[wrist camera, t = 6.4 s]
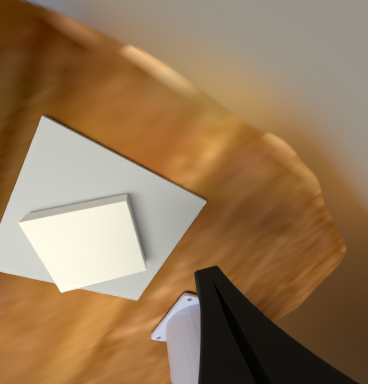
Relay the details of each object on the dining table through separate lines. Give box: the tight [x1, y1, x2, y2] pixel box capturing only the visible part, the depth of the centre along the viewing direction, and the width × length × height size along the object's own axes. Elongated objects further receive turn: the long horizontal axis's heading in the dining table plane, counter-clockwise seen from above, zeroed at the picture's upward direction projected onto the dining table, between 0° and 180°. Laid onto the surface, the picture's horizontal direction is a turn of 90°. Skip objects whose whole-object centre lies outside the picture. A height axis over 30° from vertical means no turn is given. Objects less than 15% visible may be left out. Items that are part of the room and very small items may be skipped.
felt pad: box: [0, 116, 207, 300], centre depth 16 cm, size 13×13×1 cm
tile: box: [18, 194, 146, 293], centre depth 15 cm, size 1×7×7 cm
